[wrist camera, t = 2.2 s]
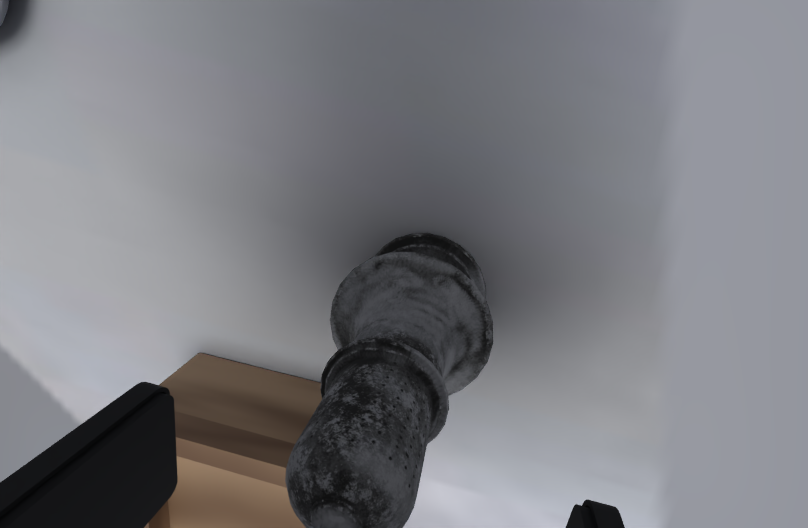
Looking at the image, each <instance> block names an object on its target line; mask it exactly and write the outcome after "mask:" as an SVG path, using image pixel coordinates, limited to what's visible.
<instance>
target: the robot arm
mask: <svg viewBox="0 0 808 528" xmlns="http://www.w3.org/2000/svg"><path fill="white" fill-rule="evenodd" d="M177 481H178V477H177V454H176V431H175V409H174V398H173V397H172V396H171V395H170V391H169V389H168V388H166V387H162V386H159V385H155V384H151V383H147V382H141V383H139V384H137V385H135V386H134V387H133V388H131V389H130V390H129V391H127V392H126V393H124V394H123V395H122V396H120V397H119V398H117V399H116V400H115V401H113V402H112V403H110V404H109V405H108V406H106V407H105V408H103V409H102V410H101V411H99V412H98V413H97V414H95V415H94V416H92V417H91V418H90V419H88V420H87V421H85V422H84V423H83V424H81V425H80V426H78V427H77V428H76V429H74V430H73V431H71V432H70V433H69V434H67V435H66V436H65V437H63V438H62V439H60V440H59V441H58V442H56V443H55V444H53V445H52V446H51V447H49V448H48V449H46V450H45V451H44V452H42V453H41V454H39V455H38V456H37V457H35V458H34V459H33V460H31V461H30V462H28V463H27V464H26V465H24V466H23V467H21V468H20V469H19V470H17V471H16V472H15V473H13V474H12V475H10V476H9V477H7V478H6V479H5V480H3V481H2V482H1V483H0V528H144V527H145V526H146V525H147V524H148V522H149V521H150V520H151V519H152V518H153V517H154V516H155V514H156V513H157V512H158V511H159V510H160V509H161V508H162V506H163V505H164V504H165V503H166V502H167V501H168V500H169V498H170V497H171V496H172V494H173V492H174V491H175V488H176V486H177ZM566 528H625V527H624V524H623V521H622V518H621V515H620V513H619V511H618V509H617V508H616V507H614V506H610V505H606V504H602V503H599V502H595V501H591V500H585V501H584V503H583V505H582V506H581V505H577V504H576V505H575V506H574V507H573V510H572V512H571V515H570V518H569V520H568V523H567V526H566Z"/></svg>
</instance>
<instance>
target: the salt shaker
mask: <svg viewBox="0 0 808 528" xmlns="http://www.w3.org/2000/svg"><path fill="white" fill-rule="evenodd" d="M330 322H331V329H332V335H333V340H334V342H335V344H336V347H337V349H338V351H337V352H336V353H335V354H334V355H333V356H332V357H331V358H330V360H329V361H328V363H327V365H326V367H325V369H324V371H323V373H322V379H321V387H320V390H321V396H322V400H321V402H320V403H319V405H318V407H317V408H316V410H315V412H314V414H313V415H312V417H311V419H310V420H309V422H308V424H307V425H306V427H305V429H304V430H303V432H302V434H301V435H300V437H299V439H298V440H297V442H296V444H295V446H294V448H293V450H292V452H291V454H290V457H289V460H288V463H287V467H286V477H285V482H286V486H287V491H288V496H289V500H290V505H291V507H292V508H293V510H294V512H295V514H296V516H297V517H298V518H299V520H300V521H301V522H302V523H303V524H304V526H305V527H306V528H402V527H403V526H404V525H405V523H406V522H407V520H408V519H409V516H410V514H411V512H412V510H413V508H414V504H415V500H416V497H417V492H418V487H419V482H420V477H421V472H422V467H423V461H424V456H425V451H426V446H427V444H428V443H429V442H430V441H432V440H433V439H434V438H435V437H437V435H438V434H439V432H440V431H441V429H442V428H443V426H444V425H445V422H446V418H447V414H448V410H449V401H448V396H449V395H451V394H453V393H455V392H458V391H460V390H462V389H463V388H464V387H466V386H467V385H468V384H469V383H471V382H472V381H473V380H474V379H475V378H477V376H478V375H479V373H480V372H481V370H482V369H483V367H484V366H485V364H486V363H487V361H488V358H489V355H490V351H491V348H492V345H493V321H492V318H491V314H490V311H489V308H488V305H487V302H486V295H485V282H484V279H483V276H482V273H481V270H480V268H479V267H478V265H477V263H476V262H475V260H474V259H473V257H472V256H471V255H470V254H469V253H468V252H467V251H465V250H464V249H463V248H462V247H461V246H460V245H458V244H456V243H455V242H453V241H451V240H449V239H447V238H445V237H441V236H437V235H432V234H410V235H406V236H403V237H400V238H396V239H395V240H393V241H392V242H390V243H388V244H387V245H385V246H384V247H383V248H382V249H381V250H380V251H379V252H378V253H377V254H376V256H375V257H373V258H370V259H369V260H367V261H366V262H364V263H362V264H361V265H359V266H358V267H356V268H354V269H353V270H352V272H351V273H350V274H349V275H348V276H347V277H346V278H345V280H344V281H343V282H342V283H341V284H340V286H339V288H338V291H337V293H336V295H335V297H334V299H333V302H332V310H331V318H330Z"/></svg>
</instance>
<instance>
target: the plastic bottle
mask: <svg viewBox="0 0 808 528" xmlns="http://www.w3.org/2000/svg"><path fill="white" fill-rule="evenodd" d="M8 3H9V0H0V26H1V24H2V23H3V21H4V18H5V16H6V13H7V10H8Z"/></svg>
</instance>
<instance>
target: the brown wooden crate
mask: <svg viewBox="0 0 808 528" xmlns="http://www.w3.org/2000/svg"><path fill="white" fill-rule="evenodd" d="M159 386H162V387H166V388H168V389H169V391H170V395H171V396H172V397H173V398H174V409H175V431H176V454H177V477H178V481H177V486H176V488H175V491H174V492H173V494H172V496H171V497H170V498H169V500H168V501H167V502H166V503H165V504H164V505H163V506H162V508H161V509H160V510H159V511H158V512H157V513H156V514H155V516H154V517H153V518H152V519H151V520H150V521H149V522H148V524H147V525H146V526H145V527H144V528H306V527H305V526H304V524H303V523H302V522H301V521H300V520H299V518H298V517H297V516H296V514H295V512H294V510H293V508H292V507H291V505H290V500H289V496H288V491H287V486H286V482H285V477H286V467H287V463H288V460H289V457H290V454H291V452H292V450H293V448H294V446H295V444H296V442H297V440H298V439H299V437H300V435H301V434H302V432H303V430H304V429H305V427H306V425H307V424H308V422H309V420H310V419H311V417H312V415H313V414H314V412H315V410H316V408H317V407H318V405H319V403H320V402H321V400H322V396H321V390H320V387H321V383H319V382H315V381H311V380H307V379H303V378H299V377H295V376H291V375H287V374H283V373H279V372H275V371H271V370H267V369H263V368H259V367H255V366H251V365H247V364H243V363H239V362H235V361H231V360H227V359H223V358H219V357H215V356H211V355H207V354H203V353H198V354H197V355H196V356H194V357H193V358H192V359H191V360H189V361H188V362H187V363H186V364H184V365H183V366H182V367H181V368H179V369H178V370H177V371H176V372H175V373H173V374H172V375H171V376H170V377H168V378H167V379H166V380H165V381H163V382H162V383H161V384H160V385H159Z"/></svg>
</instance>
